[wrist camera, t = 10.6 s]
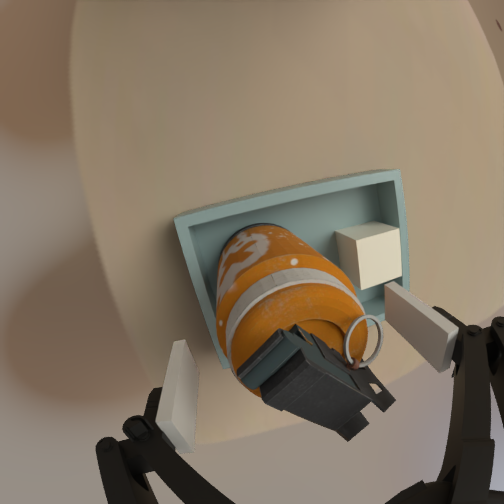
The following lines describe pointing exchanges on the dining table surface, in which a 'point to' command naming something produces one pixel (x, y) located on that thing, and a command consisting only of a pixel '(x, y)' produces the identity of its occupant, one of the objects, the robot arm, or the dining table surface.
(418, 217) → the dining table surface
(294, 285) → the canister
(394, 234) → the cream cube
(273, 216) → the teal tray
